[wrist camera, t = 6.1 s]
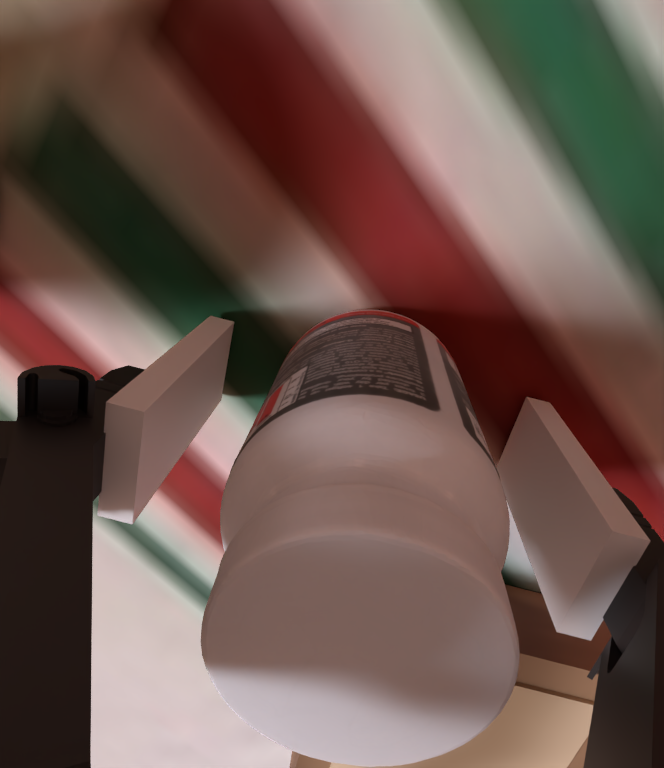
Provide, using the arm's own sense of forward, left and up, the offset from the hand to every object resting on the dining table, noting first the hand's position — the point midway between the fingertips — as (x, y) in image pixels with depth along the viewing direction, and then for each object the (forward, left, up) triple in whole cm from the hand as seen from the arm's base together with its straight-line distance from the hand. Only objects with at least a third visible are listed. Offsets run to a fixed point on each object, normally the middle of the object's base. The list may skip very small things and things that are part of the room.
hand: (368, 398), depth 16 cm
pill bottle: (0, 0, -1) cm, 1 cm away
